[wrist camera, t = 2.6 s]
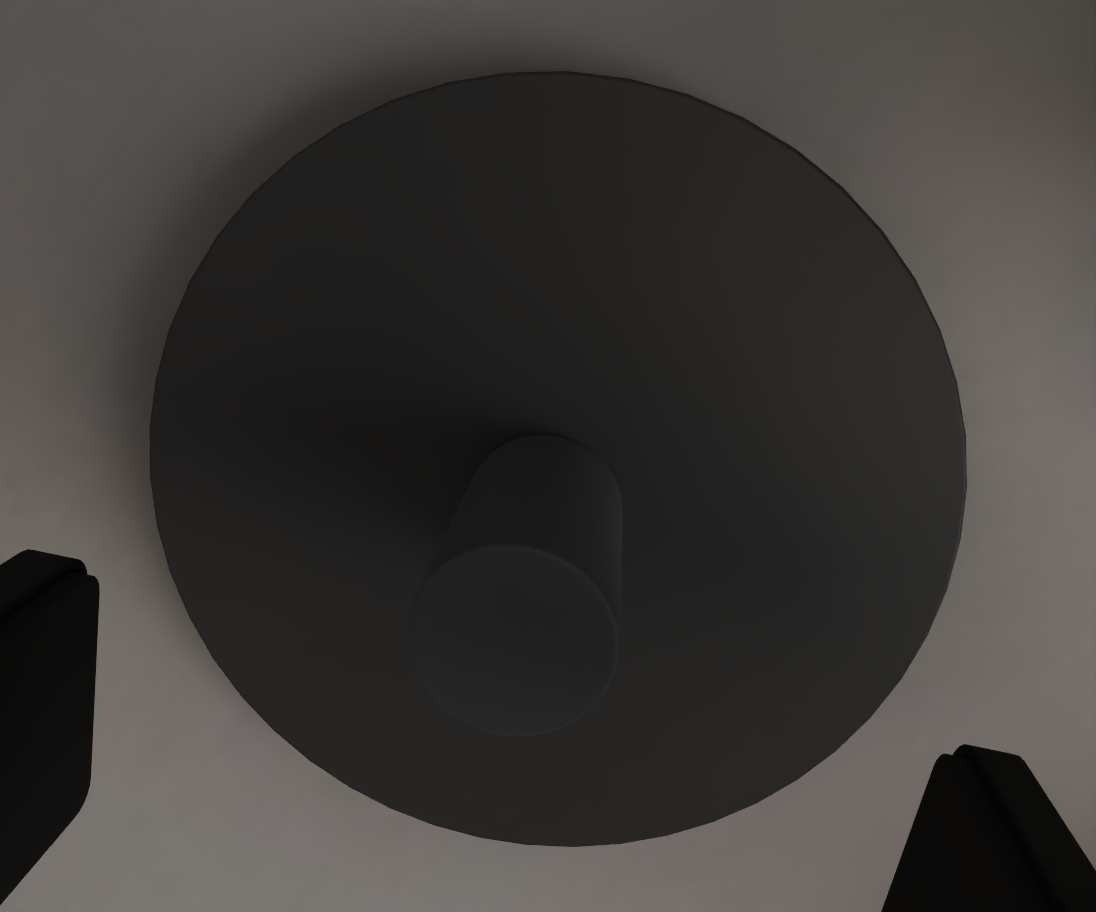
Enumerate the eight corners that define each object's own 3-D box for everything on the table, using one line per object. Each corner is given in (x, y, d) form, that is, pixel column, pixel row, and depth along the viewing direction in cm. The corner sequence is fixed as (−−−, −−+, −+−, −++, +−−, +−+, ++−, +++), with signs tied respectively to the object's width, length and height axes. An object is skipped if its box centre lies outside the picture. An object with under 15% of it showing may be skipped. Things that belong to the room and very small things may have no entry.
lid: (40, 511, 20) (-215, 667, 14) (498, -126, 15) (416, -295, 10) (586, 924, 22) (569, 1217, 16) (1120, 458, 17) (1370, 618, 12)
